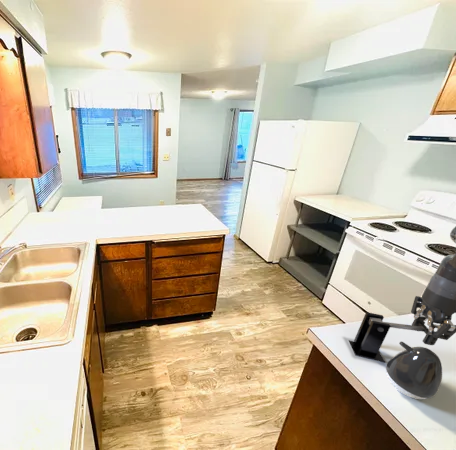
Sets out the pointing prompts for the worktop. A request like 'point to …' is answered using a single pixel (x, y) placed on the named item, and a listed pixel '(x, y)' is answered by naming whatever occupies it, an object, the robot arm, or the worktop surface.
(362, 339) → the bracket
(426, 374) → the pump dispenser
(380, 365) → the worktop surface
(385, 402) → the worktop surface
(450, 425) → the worktop surface
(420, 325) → the lever
